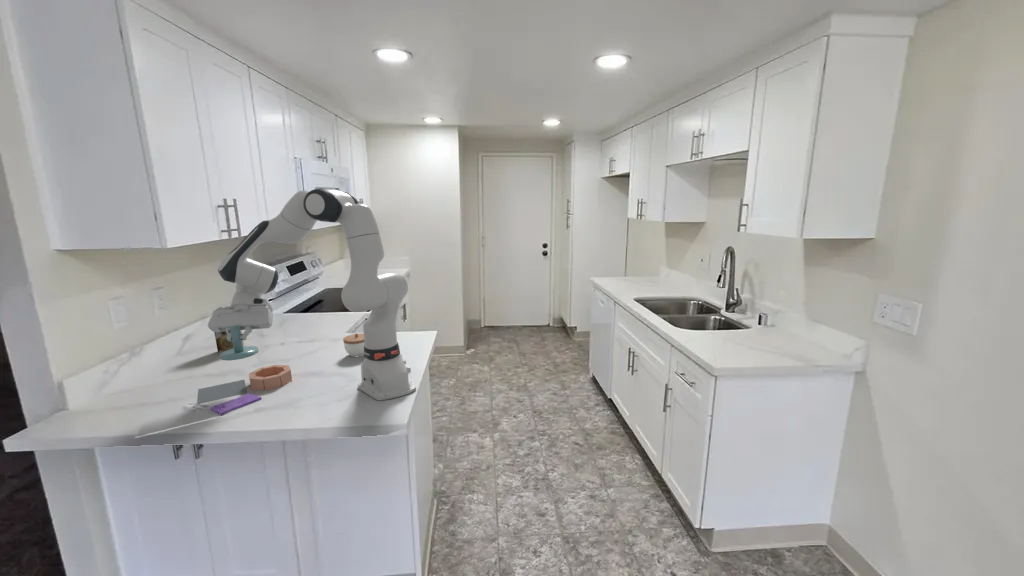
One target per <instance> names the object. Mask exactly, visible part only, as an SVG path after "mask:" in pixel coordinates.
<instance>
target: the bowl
mask: <svg viewBox="0 0 1024 576" xmlns="http://www.w3.org/2000/svg"><path fill="white" fill-rule="evenodd" d="M248 378H249V384H250V389H251V390H254V391H255V390H256V391H269V390H272V389H276V388H281V387H283V386H285V385H286V384H288V383H292V382H293V377H292V371H291V368H290V366H289V365H287V364H273V365H268V366H263V367H260V368H257V369H255V370H253V371H251V372H250V373H248Z"/></svg>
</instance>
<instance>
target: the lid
mask: <svg viewBox="0 0 1024 576" xmlns="http://www.w3.org/2000/svg"><path fill="white" fill-rule="evenodd" d="M230 330H231V336H232V342H233V347H234V349H230V350H227V351H224V352H222V353H221V354H218V356H219V359H220V361H236V360H241V359H247V358H249V357H253V356H255V355H256V354H258V353H259V351H260V350H259V347H257V346H253V345H246V346H245V345H244V347H243V343H244V342H243V343H242V340H241V339H240V334H241V332H240V326H232V327H230Z"/></svg>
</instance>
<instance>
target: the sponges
mask: <svg viewBox="0 0 1024 576" xmlns="http://www.w3.org/2000/svg"><path fill="white" fill-rule="evenodd" d="M261 400H262V397H261V396H259V395H256V394H253V393H251V392H249V393H245V394H244V395H241V396H239V397H236V398H232V399H230V400H228V401H227V400H226V401H224V402H221V403H218V404H215V405H211V406H210V408H209V409H210V410H211V411H212V412H214V413H217V414H219V415H221V416H220V417H222V415H224V414H228V413H230V412H232V411H235V410H237V409H240V408H243V407H244V406H247V405H250V404H253V403H255V402H258V401H261Z"/></svg>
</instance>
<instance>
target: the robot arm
mask: <svg viewBox="0 0 1024 576" xmlns="http://www.w3.org/2000/svg"><path fill="white" fill-rule="evenodd" d="M317 221H319V222H323V223H324V222H326V223H339V225H341V227H342V228H343V231H344V235H345V239H346V243H347V248H348V252H349V257H350V272H349V277H348V279H347V281H346V283H345V285H344V286H343V287H342V289H341V296H340V297H341V301H342V304H343V305H344V307H345V308H346V309H347V310H348V311H350V312H353V313H358V312H368V311H370V314H369V316H368V317H367V319H366V320H365V321H364V323H363V327H362V329H363V330H362V331H363V334H364V342H365V346H364V356H363V357H364V360H363V362H361V363H360V369H361V371H360V372H361V382H360V383H358V384H357V389H358V390H360V391H362V392H363V393H365V394H367V395H368V396H370V397H371V398H373V399H374V400H376V401H385V400H390V399H392V400H393V399H396V398H398V397H403V396H405V395H408V394H409V395H410V394H411V393H413V392H415V391H416V390H417V386H416V384H415V382H414V380H413V377H412V376H411V373H412V371H411V366H406V364H407V361H406V360H404V359H403V355H402V354H401V351H400V345H399V342H398V337H397V318H398V313H399V309H400V306H401V303H402V302H403V299H404V298H405V297H406V295H407V294H408V291H409V285H408V281H407V280H406V278H405V276H403V275H402V274H400V273H397V272H395V273H394V272H386V273H381V274H380V273H379V274H378V270H379V269H378V268H379V265H380V263H381V262H382V261H383V259H384V257H385V250H384V247H383V243H382V239H381V234H380V230H379V227H378V223H377V220H376V218H375V215H374V213H373V211H372V209H371V207H370V206H368V205H366V204H363V203H359V200H358V199H357V198H356V197H355V196H354V195H353V194H351V193H349V192H346V191H341V190H337V189H332V188H321V187H320V188H315V189H312V190H310V191H308V190H299V191H297V192H296V193H294V194H293V196H291V198H289V200H288V201H287V202H286V204H284V206H283V208H282V210H281V211H280V213H278V214H277V215H276V216H275V217H273V218H272V219H269V220H262V221H260V222H259V223H258V224H257V225H256V226H255V227H254V228H253V229H252V230H250V232H249V233H248V234H247V235H246V236H245V237H244V238H243V239H242V240H241V241H240V242H239V244H237V246H235V248H234V249H233V250H231V251H230V252H229V253H228V254H227V255H225V257H224V258H222V260H221V261H220V264H219V265H218V270H217V272H218V274H219V275H220V277H221V279H222V280H223V281H225V282H229V283H233V284H236V285H235V292H234V294H233V296H232V300H231V302H230V306H224V307H223V306H221V307H217V308H215V309H214V310H213V311H212V315H210V316H211V317H210V319H209V321H208V323H207V328H208V329H209V330H210V331H212V332H213V333H214V332H221V331H226V333H227V340H228V341H232V336H231V330H230V327H232V326H240V330H241V331H244V332H243V333H242V334H240V339H241V340H243V341H247V337H248V336H249V335H250V334H251V333H252V332H253V330H260V329H261V330H262V329H264V330H265V329H269V328H271V327H272V326H273V322H274V313H273V311H274V307H273V306H272V304H271V303H270V302H269V301H268V300H267V299H265V298H262V295H266V294H269V293H271V292H273V291H274V290H275V289H276V287H277V285H278V280H279V277H280V276H279V275H280V274H279V272H278V270H277V268H274V267H273V266H272V265H271V266H270V265H268V264H265V263H263V262H259V261H256V260H254V259H252V258H248V257H249V256H250V255H251V253H253V252H254V250H256V248H257V247H258V246H259V245H261V244H264V243H281V244H282V243H283V244H294V243H295V244H296V243H299V242H301V241H303V240H304V239H305V238H306V237H308V236H309V233H310V232H311V231H312V229H313V228H314V226H315V224H316V223H317Z"/></svg>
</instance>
